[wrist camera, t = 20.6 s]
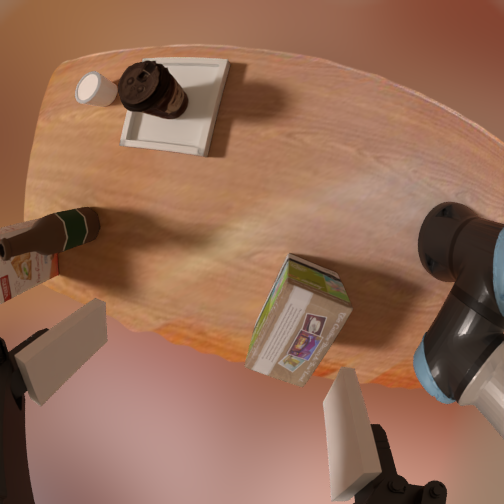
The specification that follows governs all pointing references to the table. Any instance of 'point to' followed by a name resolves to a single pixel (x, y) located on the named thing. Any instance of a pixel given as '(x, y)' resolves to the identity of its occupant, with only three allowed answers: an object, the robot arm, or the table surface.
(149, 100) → the coffee cup
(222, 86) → the tray
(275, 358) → the tea box
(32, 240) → the beer bottle
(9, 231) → the cracker box
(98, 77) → the shot glass
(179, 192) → the table surface
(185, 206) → the table surface
